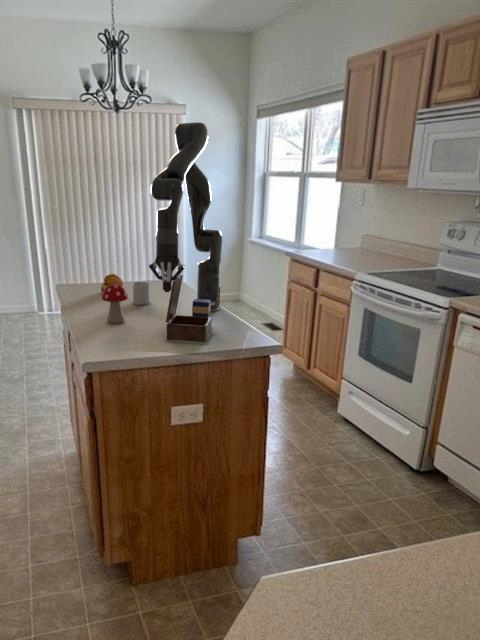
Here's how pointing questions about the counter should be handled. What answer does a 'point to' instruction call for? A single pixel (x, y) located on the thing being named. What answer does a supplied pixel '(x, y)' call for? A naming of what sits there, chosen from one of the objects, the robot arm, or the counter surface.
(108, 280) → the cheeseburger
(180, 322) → the chest
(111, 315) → the decorative mushroom
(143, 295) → the cup
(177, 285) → the lid
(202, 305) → the cookie packet
